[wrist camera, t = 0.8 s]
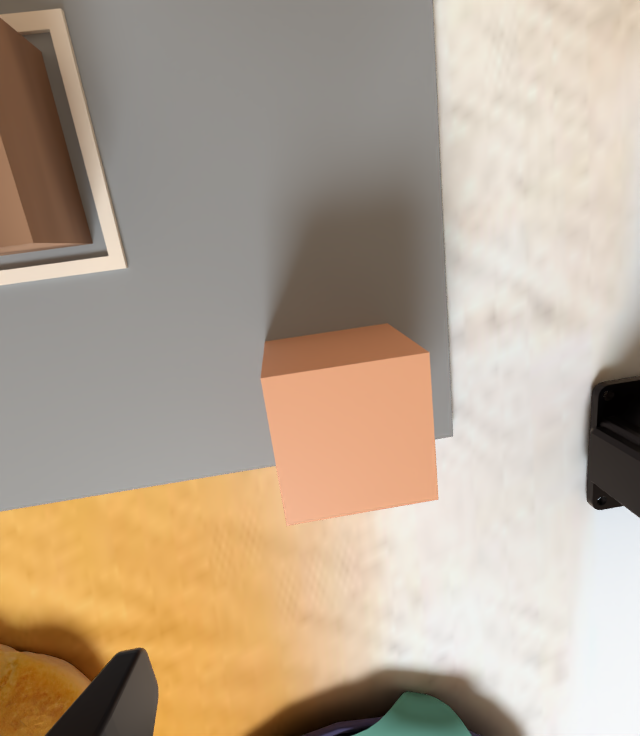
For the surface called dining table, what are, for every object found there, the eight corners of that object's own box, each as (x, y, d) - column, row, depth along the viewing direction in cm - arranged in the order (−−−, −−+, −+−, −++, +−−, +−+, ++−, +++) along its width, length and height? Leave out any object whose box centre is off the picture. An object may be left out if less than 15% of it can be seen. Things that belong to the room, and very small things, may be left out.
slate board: (423, -51, 15) (431, -67, 14) (447, 430, 20) (454, 438, 19) (-266, 17, 13) (-298, 3, 13) (-50, 512, 18) (-65, 524, 18)
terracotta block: (387, 323, 17) (429, 352, 13) (397, 435, 19) (438, 499, 14) (264, 341, 17) (260, 378, 12) (284, 453, 19) (286, 525, 14)
